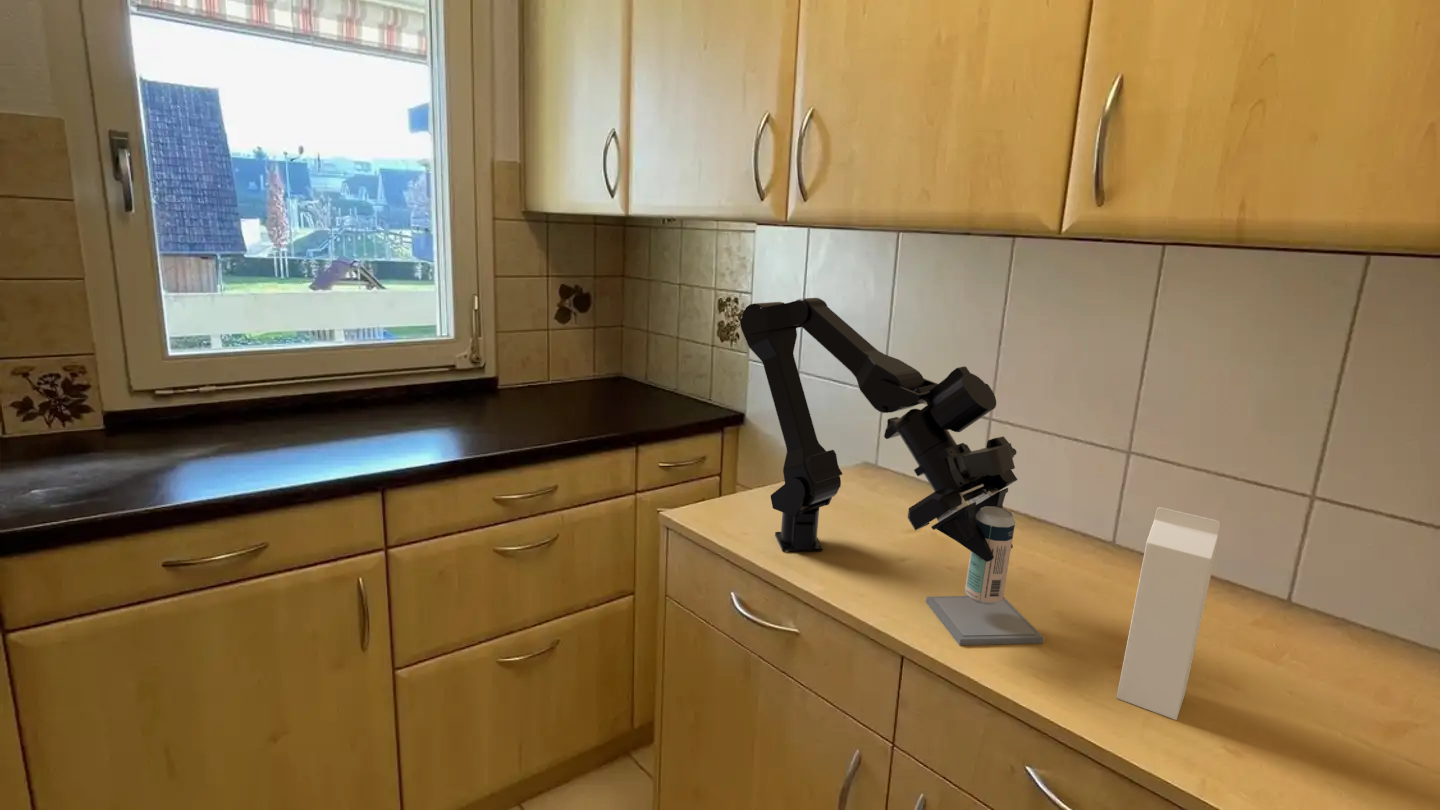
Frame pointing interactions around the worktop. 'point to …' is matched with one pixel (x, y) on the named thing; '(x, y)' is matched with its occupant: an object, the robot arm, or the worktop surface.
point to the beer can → (991, 576)
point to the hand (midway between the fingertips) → (1000, 554)
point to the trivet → (982, 621)
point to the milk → (1168, 611)
